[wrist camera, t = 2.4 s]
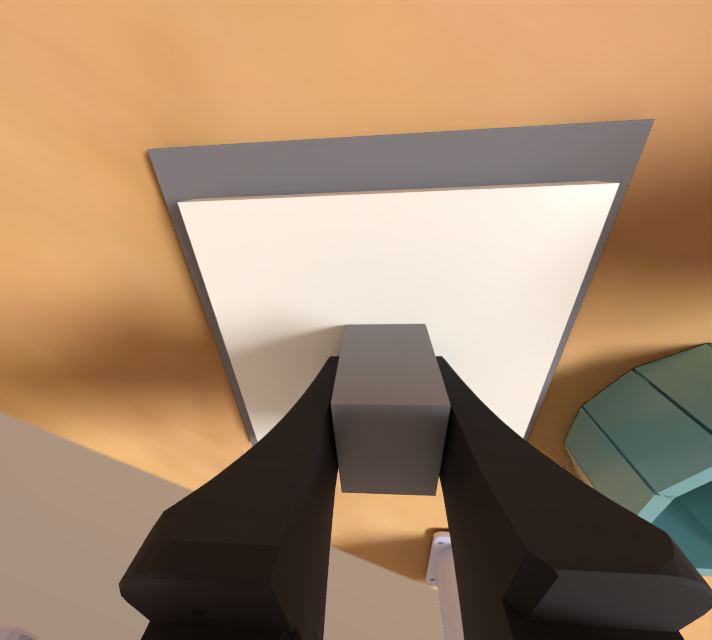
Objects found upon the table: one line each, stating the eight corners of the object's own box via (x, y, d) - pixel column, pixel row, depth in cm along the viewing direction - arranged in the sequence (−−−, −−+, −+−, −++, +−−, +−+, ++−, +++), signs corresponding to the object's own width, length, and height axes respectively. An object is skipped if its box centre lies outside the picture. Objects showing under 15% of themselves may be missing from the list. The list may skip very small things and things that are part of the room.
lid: (504, 449, 15) (556, 566, 11) (269, 443, 16) (230, 548, 12) (595, 180, 9) (815, 201, 4) (195, 198, 10) (48, 229, 5)
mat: (516, 447, 17) (521, 456, 16) (257, 441, 18) (253, 450, 17) (638, 121, 9) (654, 118, 8) (158, 149, 10) (146, 149, 9)
